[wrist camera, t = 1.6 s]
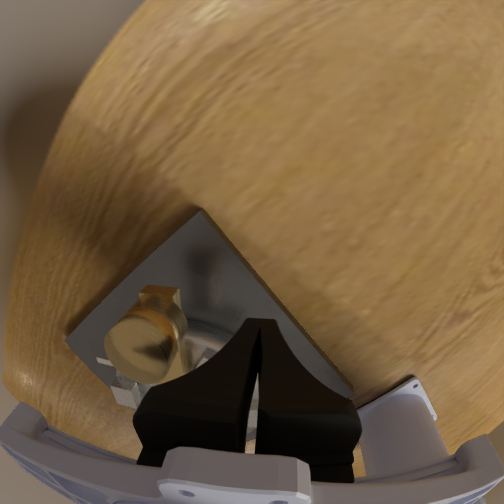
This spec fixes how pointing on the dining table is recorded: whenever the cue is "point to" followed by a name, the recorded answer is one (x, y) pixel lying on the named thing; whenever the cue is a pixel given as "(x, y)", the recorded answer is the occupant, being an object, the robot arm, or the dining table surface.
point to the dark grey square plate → (202, 300)
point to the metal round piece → (161, 347)
